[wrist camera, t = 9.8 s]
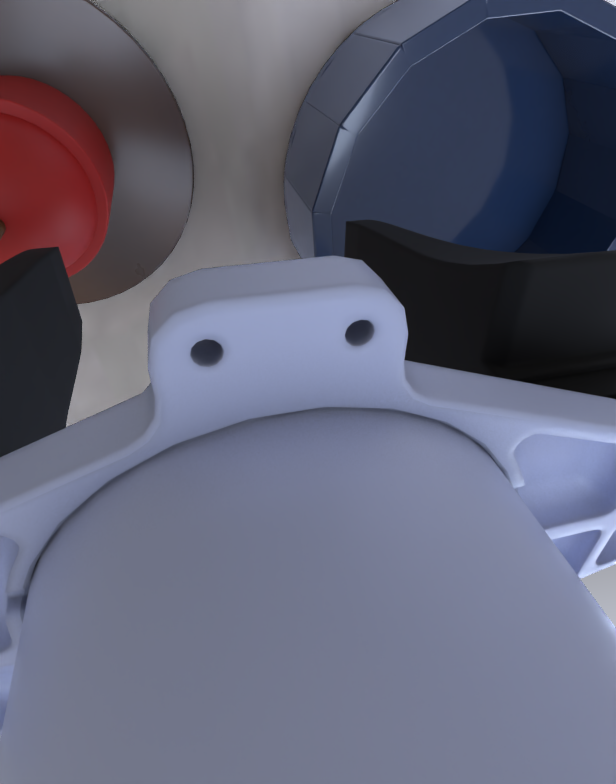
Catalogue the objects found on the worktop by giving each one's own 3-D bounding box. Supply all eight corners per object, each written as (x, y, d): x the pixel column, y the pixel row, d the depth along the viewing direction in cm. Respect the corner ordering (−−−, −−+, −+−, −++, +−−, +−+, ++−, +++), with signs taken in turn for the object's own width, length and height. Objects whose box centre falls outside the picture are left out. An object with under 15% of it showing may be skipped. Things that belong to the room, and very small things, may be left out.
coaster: (106, 341, 23) (106, 347, 23) (-204, 196, 17) (-211, 200, 17) (249, 133, 19) (251, 136, 19) (-86, -150, 13) (-93, -154, 13)
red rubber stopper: (72, 265, 20) (48, 359, 15) (-85, 180, 17) (-180, 263, 12) (142, 149, 18) (142, 213, 13) (-21, 32, 15) (-101, 56, 10)
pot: (417, 354, 28) (459, 411, 25) (218, 213, 21) (235, 264, 17) (621, 149, 24) (711, 180, 20) (457, -127, 16) (552, -159, 12)
